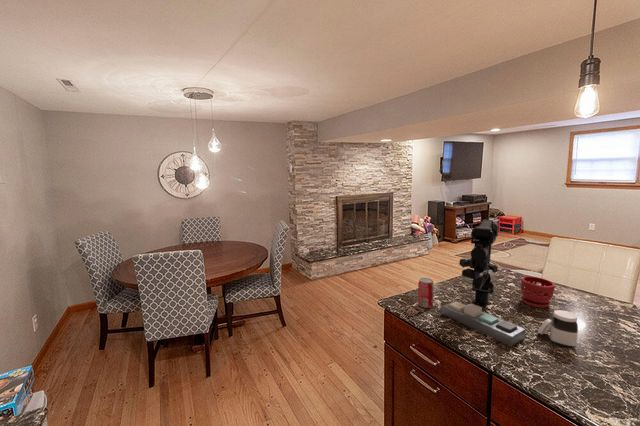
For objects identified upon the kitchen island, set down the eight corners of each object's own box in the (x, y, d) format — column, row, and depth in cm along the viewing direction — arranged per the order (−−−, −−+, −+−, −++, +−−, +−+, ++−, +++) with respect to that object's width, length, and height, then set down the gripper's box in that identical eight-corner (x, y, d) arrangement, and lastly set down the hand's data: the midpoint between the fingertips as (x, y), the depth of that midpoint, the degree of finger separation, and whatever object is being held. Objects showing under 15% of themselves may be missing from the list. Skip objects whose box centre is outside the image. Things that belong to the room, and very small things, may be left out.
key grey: (470, 312, 132) (470, 303, 132) (481, 317, 128) (481, 307, 127) (463, 315, 130) (464, 306, 129) (474, 320, 125) (475, 310, 125)
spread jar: (578, 352, 107) (581, 322, 105) (539, 343, 113) (542, 314, 111) (571, 337, 117) (575, 309, 115) (536, 329, 123) (539, 302, 121)
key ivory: (455, 310, 138) (456, 301, 138) (465, 314, 134) (466, 305, 134) (449, 313, 136) (449, 304, 135) (459, 317, 132) (459, 308, 131)
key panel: (455, 308, 141) (455, 300, 141) (524, 338, 116) (525, 329, 116) (441, 314, 136) (442, 306, 136) (511, 346, 111) (512, 336, 110)
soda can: (434, 309, 141) (435, 283, 139) (418, 308, 143) (419, 282, 141) (431, 303, 148) (432, 278, 146) (416, 301, 149) (417, 277, 148)
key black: (502, 330, 121) (503, 320, 120) (515, 336, 116) (516, 326, 116) (495, 334, 118) (496, 324, 117) (509, 340, 114) (510, 329, 113)
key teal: (485, 323, 127) (486, 313, 126) (497, 328, 122) (498, 318, 122) (478, 326, 124) (479, 316, 123) (490, 331, 120) (491, 321, 119)
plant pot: (523, 307, 142) (525, 283, 141) (516, 296, 154) (518, 274, 153) (556, 312, 137) (559, 287, 136) (547, 300, 150) (549, 277, 148)
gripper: (475, 248, 143) (473, 279, 145) (451, 254, 133) (449, 287, 136) (499, 253, 134) (497, 286, 136) (475, 260, 124) (473, 296, 126)
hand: (478, 288), depth 134 cm, fingers closed
